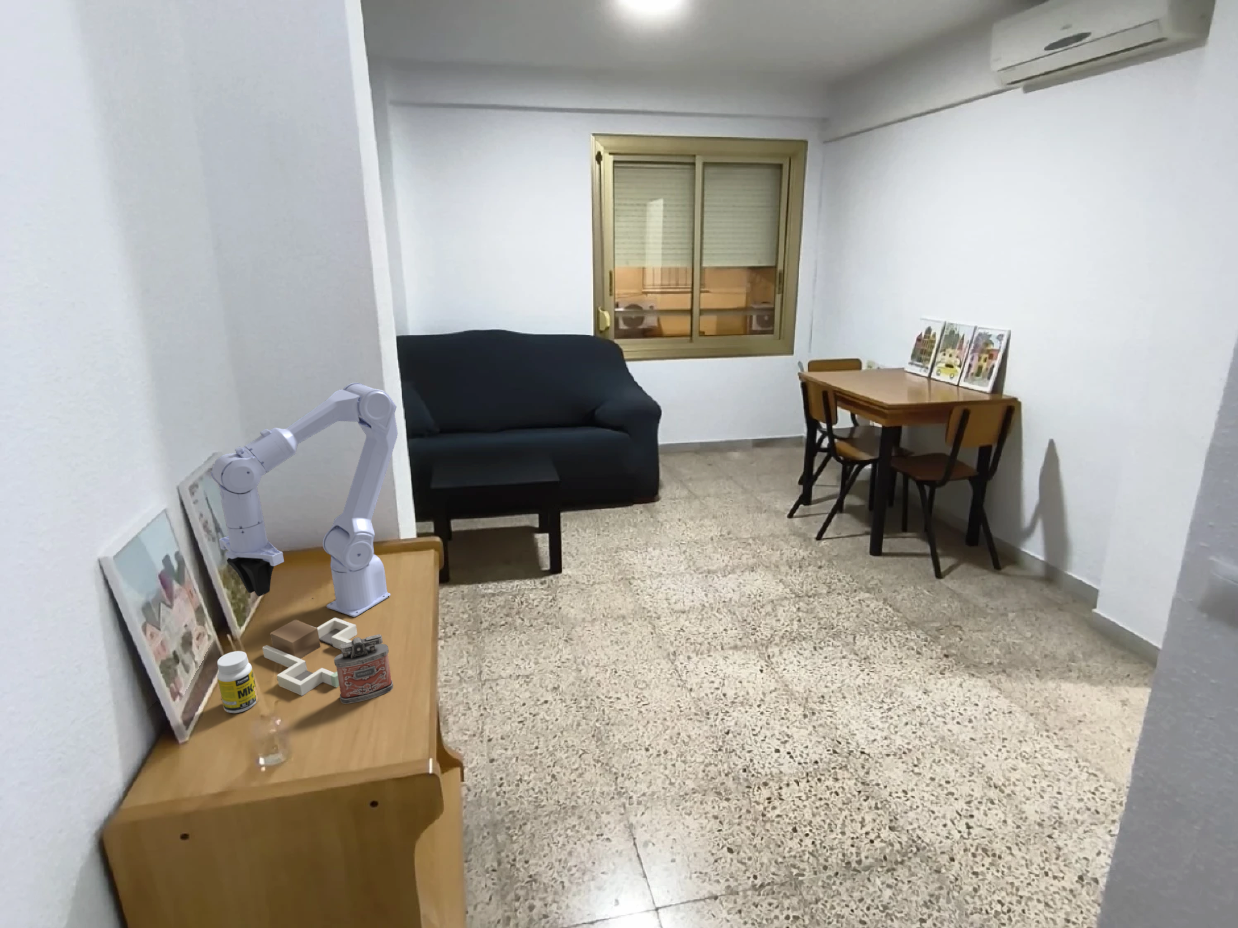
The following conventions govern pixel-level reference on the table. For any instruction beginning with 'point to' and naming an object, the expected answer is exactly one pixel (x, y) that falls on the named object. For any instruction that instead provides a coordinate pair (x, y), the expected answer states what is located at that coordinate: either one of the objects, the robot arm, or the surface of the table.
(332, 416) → the robot arm
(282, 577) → the table surface
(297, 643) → the block
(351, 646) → the lighter
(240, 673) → the supplement bottle
